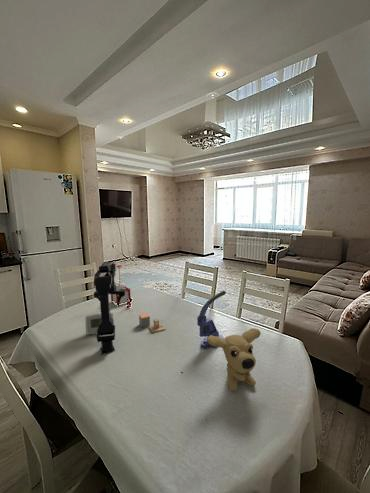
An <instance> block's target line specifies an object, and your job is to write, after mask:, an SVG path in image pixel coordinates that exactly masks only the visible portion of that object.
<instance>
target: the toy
mask: <svg viewBox="0 0 370 493" xmlns="http://www.w3.org/2000/svg"><path fill="white" fill-rule="evenodd" d="M260 336H261V330H260V329H259V328H253V327H252V328H249V329H248V330H247V331H244V332H243V333H242V334H241V335H240V334H231V335H227V336H226V337H224V339H223V338H220V337H216V336H212V335H211V336H209V337H207V336H206V337H207V342H208V343H209V344H210V345H212V346H218V348H222V351H223V354H224V355H225V360H226V362H227V363H226V372H227V374H226V375H227V380H226V381H227V385H228V388H229V389H230V391H232V392H235V391H236V390H237V388H238V387H237V386H238V385H237V384H238V383H237V382H243V383H246V384H248V385H249V386H251V387H255V386H256V384H257V382H256V380H255V379H254V377H253V376H252V374H251V371H253V370H254V368H255V367H256V364H257V362H256V357H255V356H254V354H253V350H254V346H253V344H252V343H253V341H255V340H257V339H258V338H259V337H260Z"/></svg>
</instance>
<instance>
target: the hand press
mask: <svg viewBox="0 0 370 493" xmlns="http://www.w3.org/2000/svg"><path fill="white" fill-rule="evenodd" d="M226 292H227V291H226V290H222V291H219V292H218V293H217V294H215V295H213V296H212V297H211V298H210V299H208V300H207V301H206V303H204V304H203V306H202V308H201V309H200V312H199V315H198V316H197V318H196V319H197V321H196V322H197V326H198V327H199V336H200V337H201V338H203V337H204V338H203V339H202V340H201V341H200V348H201V349H204V350H207V349H210V348H214V349H216V348H217V347H218V346H212V345H210V344H209V343H208V342H207V337H209V336H211V335H212V336H216V337H220V338H223V339H224V338H225V337H224V336H223V335H222V334H220V333H219V330H218V329H217V326H216V325H215V323H214V321H213V319H211V318H209V317H207V315H206V313H207V311H208V309H209V307H210V305H212V303H213V302H215V301H216V300H217V299H219V298H220V297H223V296H225V295H226ZM218 348H219V347H218Z"/></svg>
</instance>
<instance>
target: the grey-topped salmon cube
mask: <svg viewBox="0 0 370 493" xmlns="http://www.w3.org/2000/svg"><path fill="white" fill-rule="evenodd" d="M150 317H151V316H150V315H149V314H148V313H147V312H145V313H140V314H138V319H139V320H138V321H139V322H138V323H139V326H140V327H141V328H143V329H144V328H148V326H151V323H150V321H151V320H150V319H151V318H150Z"/></svg>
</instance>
